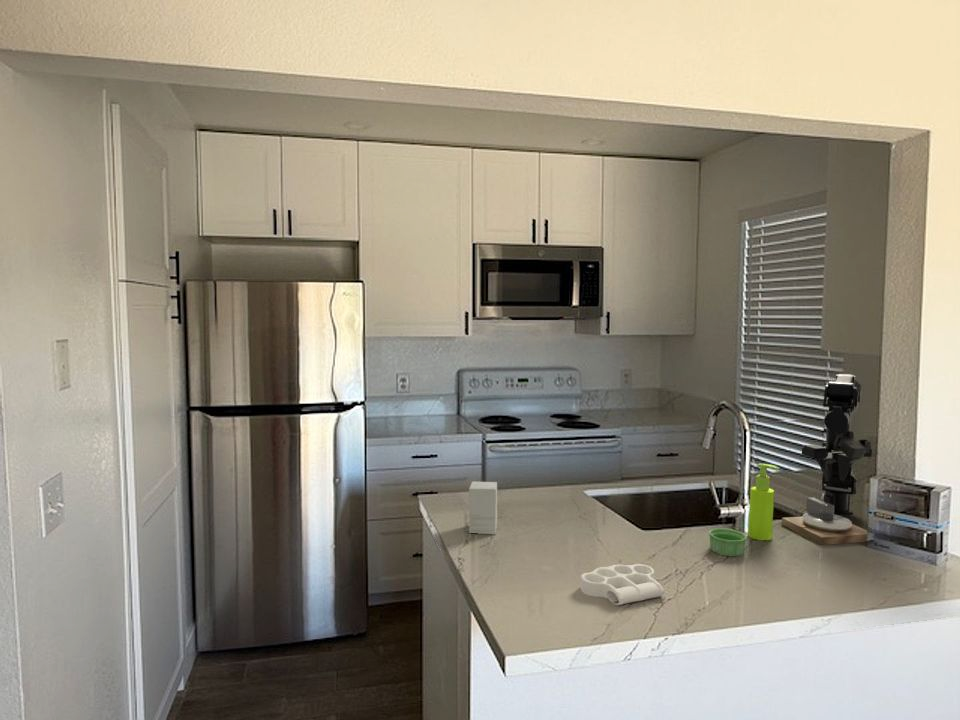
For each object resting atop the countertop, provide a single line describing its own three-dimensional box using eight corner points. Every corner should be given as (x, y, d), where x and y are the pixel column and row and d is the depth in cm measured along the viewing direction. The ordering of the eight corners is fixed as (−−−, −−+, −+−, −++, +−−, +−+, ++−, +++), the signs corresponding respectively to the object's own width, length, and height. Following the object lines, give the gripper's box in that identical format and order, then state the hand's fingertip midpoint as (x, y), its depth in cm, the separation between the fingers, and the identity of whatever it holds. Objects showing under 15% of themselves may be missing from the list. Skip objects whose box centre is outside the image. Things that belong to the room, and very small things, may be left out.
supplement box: (497, 525, 185) (498, 481, 184) (495, 535, 177) (496, 489, 176) (471, 524, 185) (471, 480, 184) (468, 533, 178) (468, 488, 177)
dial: (861, 530, 178) (863, 510, 177) (823, 533, 175) (824, 513, 175) (827, 515, 190) (828, 496, 190) (790, 517, 188) (791, 498, 187)
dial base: (830, 521, 192) (830, 513, 192) (873, 540, 176) (874, 532, 176) (781, 524, 189) (782, 517, 188) (821, 544, 173) (822, 536, 173)
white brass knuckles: (605, 612, 135) (569, 583, 148) (676, 597, 142) (635, 571, 155) (606, 596, 135) (569, 569, 148) (677, 582, 142) (635, 557, 155)
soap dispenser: (772, 543, 174) (776, 468, 172) (745, 537, 178) (749, 464, 176) (778, 536, 179) (782, 464, 177) (751, 531, 183) (755, 460, 181)
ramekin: (749, 559, 163) (749, 542, 163) (710, 556, 165) (711, 539, 164) (742, 546, 172) (743, 529, 171) (706, 543, 174) (706, 527, 173)
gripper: (830, 433, 176) (826, 490, 178) (889, 431, 180) (885, 486, 182) (801, 425, 187) (798, 479, 188) (858, 423, 191) (854, 476, 192)
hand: (835, 480), depth 187 cm, fingers open, 4 cm apart
